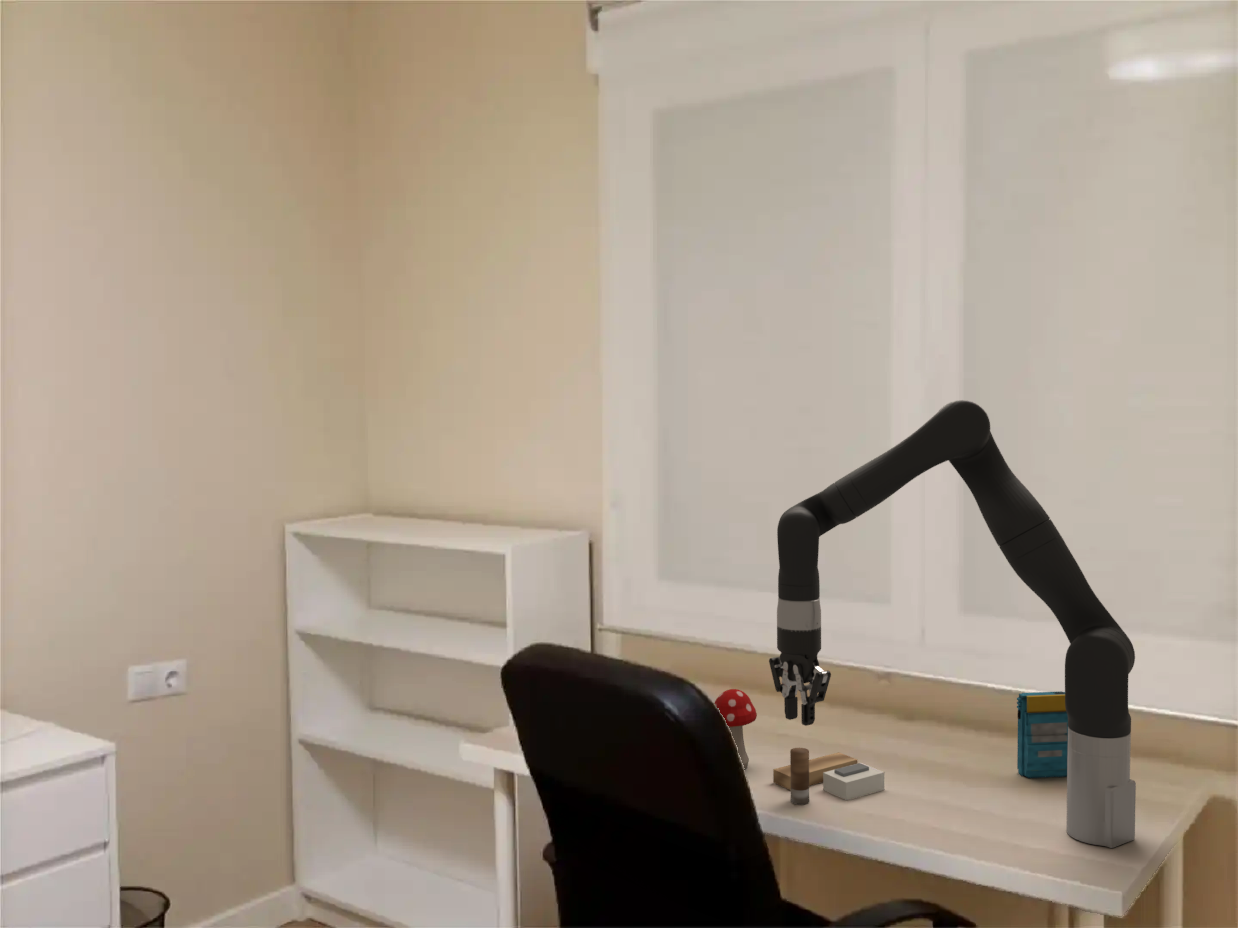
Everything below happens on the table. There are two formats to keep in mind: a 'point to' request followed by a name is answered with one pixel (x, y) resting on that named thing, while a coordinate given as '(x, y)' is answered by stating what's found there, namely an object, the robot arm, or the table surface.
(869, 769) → the block
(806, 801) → the brown cylinder
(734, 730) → the decorative mushroom
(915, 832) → the table surface
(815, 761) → the batten
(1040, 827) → the table surface
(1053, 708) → the handheld gaming console
